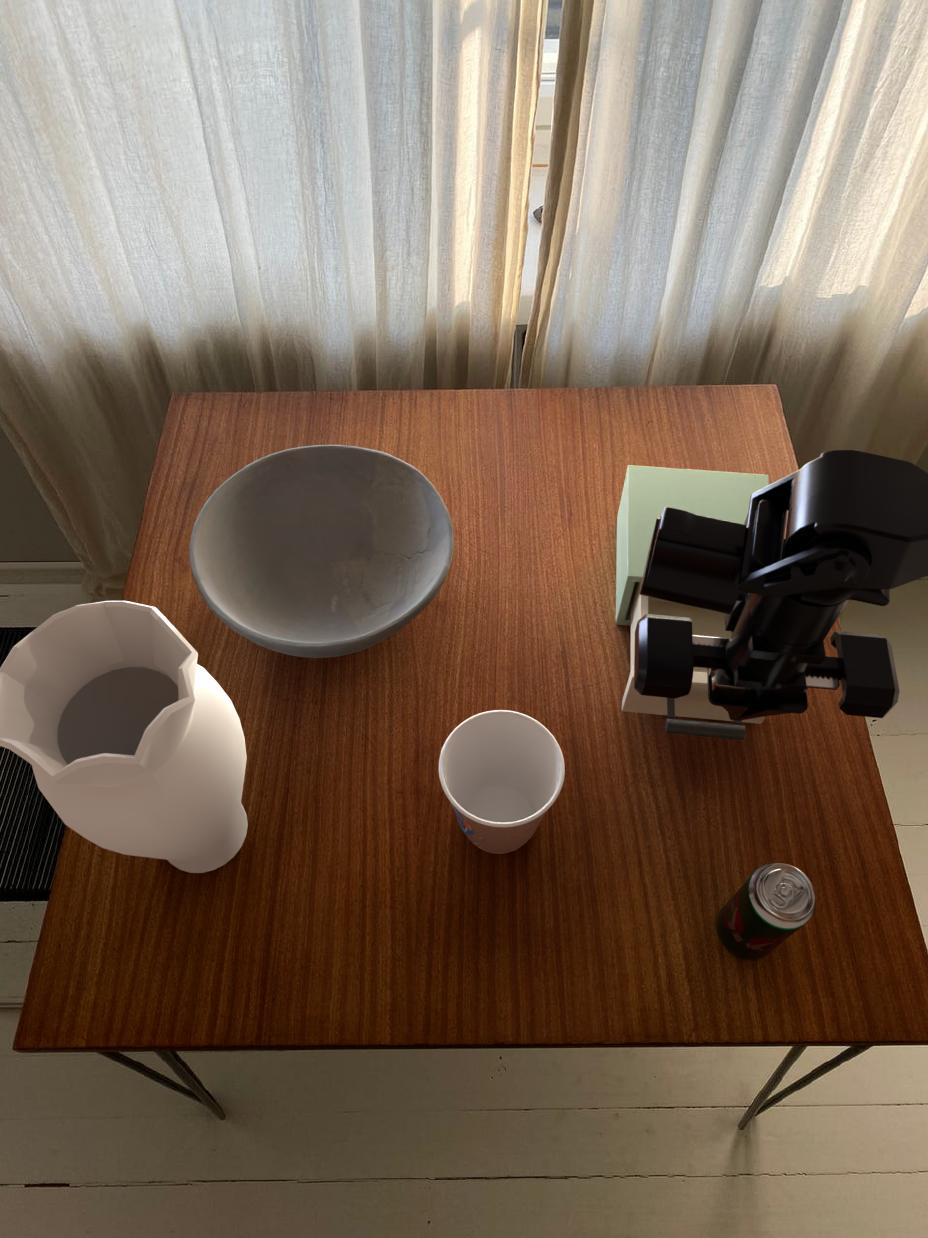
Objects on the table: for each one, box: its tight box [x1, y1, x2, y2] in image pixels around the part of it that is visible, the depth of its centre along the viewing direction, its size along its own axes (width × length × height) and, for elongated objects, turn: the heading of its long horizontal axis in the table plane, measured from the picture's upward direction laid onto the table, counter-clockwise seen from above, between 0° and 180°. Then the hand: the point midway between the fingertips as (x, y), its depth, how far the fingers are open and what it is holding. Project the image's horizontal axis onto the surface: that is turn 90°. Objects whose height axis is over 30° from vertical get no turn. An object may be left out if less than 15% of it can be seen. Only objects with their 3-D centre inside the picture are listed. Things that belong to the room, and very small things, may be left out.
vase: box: [0, 600, 249, 874], centre depth 69 cm, size 15×15×29 cm
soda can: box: [715, 862, 816, 961], centre depth 70 cm, size 5×5×12 cm
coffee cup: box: [438, 709, 566, 855], centre depth 76 cm, size 10×10×12 cm
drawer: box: [621, 582, 767, 741], centre depth 85 cm, size 18×14×7 cm
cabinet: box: [615, 464, 770, 627], centre depth 93 cm, size 15×15×9 cm
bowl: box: [189, 444, 455, 659], centre depth 91 cm, size 26×26×10 cm
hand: (734, 714), depth 73 cm, fingers closed
